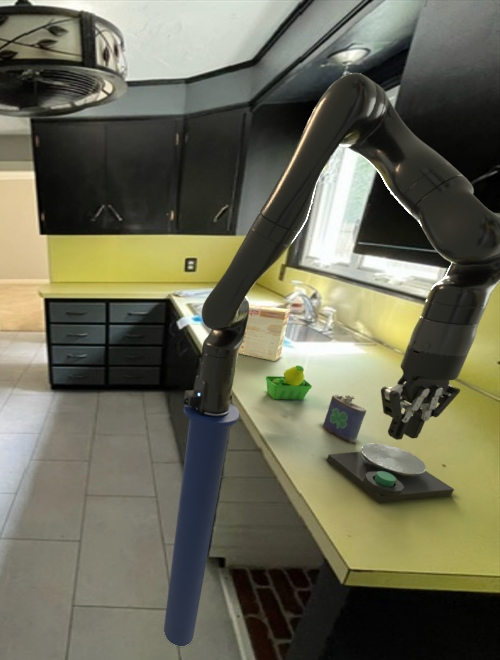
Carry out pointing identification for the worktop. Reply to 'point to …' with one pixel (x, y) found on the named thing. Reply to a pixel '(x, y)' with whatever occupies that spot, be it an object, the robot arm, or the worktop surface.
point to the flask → (344, 418)
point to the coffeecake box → (265, 332)
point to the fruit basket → (288, 384)
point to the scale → (401, 490)
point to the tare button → (385, 478)
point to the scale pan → (393, 459)
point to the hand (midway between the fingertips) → (402, 436)
